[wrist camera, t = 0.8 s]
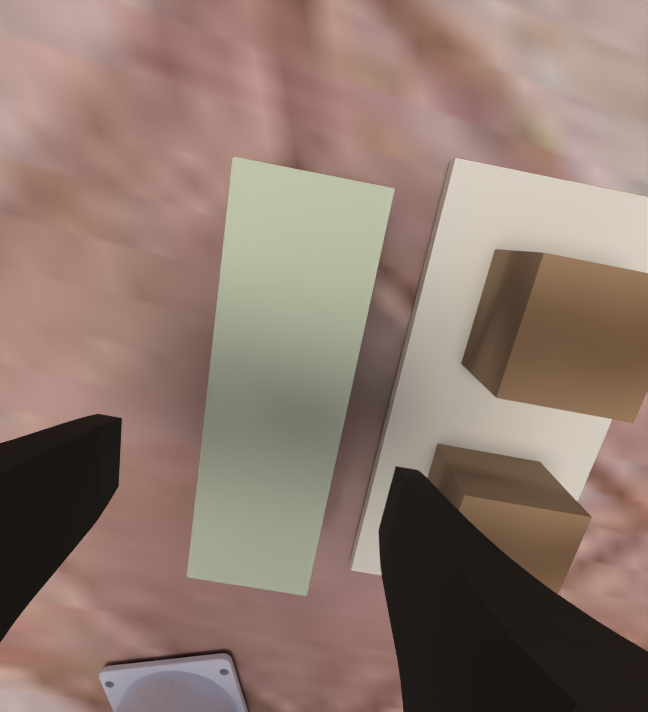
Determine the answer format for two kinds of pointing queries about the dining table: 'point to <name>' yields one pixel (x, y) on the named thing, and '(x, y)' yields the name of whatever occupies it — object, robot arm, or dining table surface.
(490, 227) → the off-white flat rectangular panel
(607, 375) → the walnut pillars
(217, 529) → the sage lintel
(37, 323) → the dining table surface
